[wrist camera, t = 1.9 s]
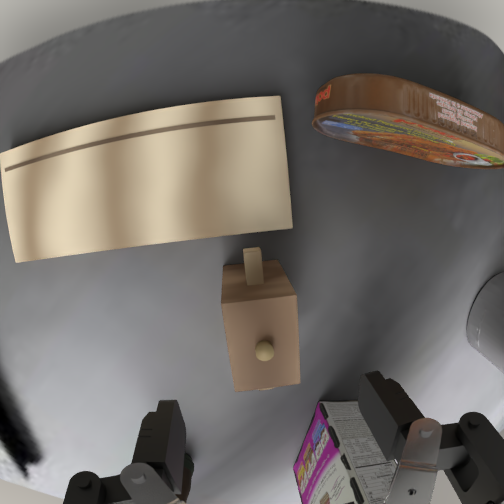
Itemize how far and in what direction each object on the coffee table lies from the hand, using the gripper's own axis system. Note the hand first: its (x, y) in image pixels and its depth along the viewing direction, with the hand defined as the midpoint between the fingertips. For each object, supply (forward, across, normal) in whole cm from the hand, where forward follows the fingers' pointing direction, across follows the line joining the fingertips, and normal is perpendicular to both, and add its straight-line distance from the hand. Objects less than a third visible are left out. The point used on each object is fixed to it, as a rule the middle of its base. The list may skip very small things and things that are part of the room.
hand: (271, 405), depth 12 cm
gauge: (+12, 0, 0) cm, 12 cm away
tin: (+12, -12, -12) cm, 21 cm away
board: (+12, +8, -10) cm, 17 cm away
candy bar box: (+12, -6, +17) cm, 22 cm away
